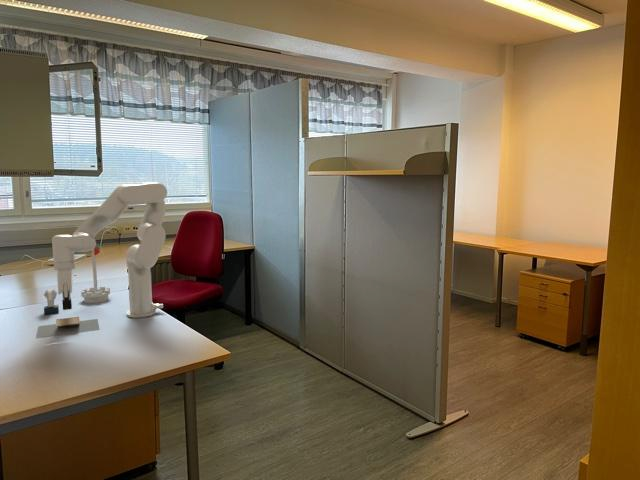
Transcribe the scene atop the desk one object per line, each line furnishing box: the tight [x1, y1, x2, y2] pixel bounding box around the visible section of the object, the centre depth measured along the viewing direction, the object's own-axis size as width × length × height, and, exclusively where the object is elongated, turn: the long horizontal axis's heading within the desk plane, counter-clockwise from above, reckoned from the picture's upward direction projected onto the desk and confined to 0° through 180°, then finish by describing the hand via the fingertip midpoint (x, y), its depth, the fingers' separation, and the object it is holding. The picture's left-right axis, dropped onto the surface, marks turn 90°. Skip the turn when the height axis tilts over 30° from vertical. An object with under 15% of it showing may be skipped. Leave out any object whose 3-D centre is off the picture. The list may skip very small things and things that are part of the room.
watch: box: [43, 288, 60, 316], centre depth 211 cm, size 6×8×11 cm
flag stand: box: [80, 244, 111, 304], centre depth 232 cm, size 13×13×30 cm
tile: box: [55, 316, 80, 327], centre depth 189 cm, size 8×2×9 cm
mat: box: [35, 318, 100, 339], centre depth 190 cm, size 22×16×1 cm
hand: (67, 309), depth 192 cm, fingers closed
